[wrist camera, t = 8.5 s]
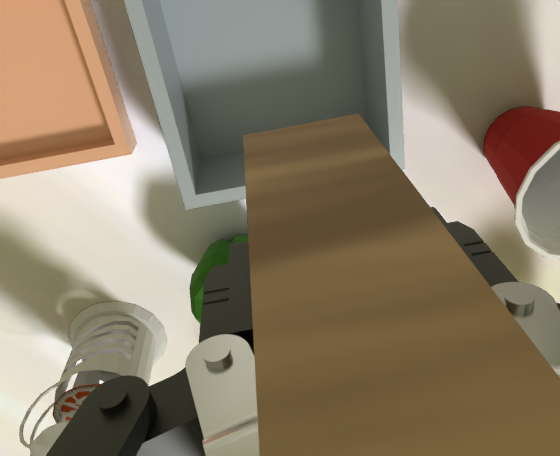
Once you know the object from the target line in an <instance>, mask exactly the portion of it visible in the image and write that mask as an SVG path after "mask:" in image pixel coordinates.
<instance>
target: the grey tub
mask: <svg viewBox="0 0 560 456" xmlns="http://www.w3.org/2000/svg"><path fill="white" fill-rule="evenodd" d="M124 3H125V6H126V10H127V13H128V16H129V20H130V23H131V27H132V30H133V33H134V37H135V40H136V44H137V47H138V50H139V54H140V57H141V61H142V64H143V67H144V71H145V74H146V77H147V81H148V84H149V88H150V91H151V94H152V98H153V101H154V105H155V108H156V111H157V115H158V118H159V122H160V125H161V128H162V132H163V135H164V139H165V142H166V145H167V149H168V152H169V155H170V159H171V162H172V166H173V169H174V172H175V176H176V179H177V183H178V186H179V189H180V193H181V196H182V200H183V203H184V206H185V210H188V209H193V208H199V207H204V206H210V205H215V204H220V203H226V202H231V201H236V200H242V199H246V186H245V167H244V148H243V135H248V134H253V133H259V132H264V131H269V130H275V129H280V128H285V127H291V126H296V125H301V124H307V123H312V122H317V121H323V120H328V119H333V118H339V117H344V116H349V115H355V114H359V115H360V116H361V117H362V119H363V120H364V121H365V122H366V124H367V125H368V126H369V128H370V129H371V130H372V132H373V133H374V134H375V136H376V137H377V138H378V140H379V141H380V142H381V143H382V145H383V146H384V147H385V149H386V150H387V151H388V153H389V154H390V155H391V157H392V158H393V159H394V161H395V162H396V163H397V165H398V166H399V167H400V168H401V170H403V169H405V159H404V135H403V112H402V89H401V65H400V42H399V19H398V0H124Z"/></svg>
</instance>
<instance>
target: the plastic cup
mask: <svg viewBox="0 0 560 456" xmlns="http://www.w3.org/2000/svg"><path fill="white" fill-rule="evenodd" d="M484 152H485V156H486V158H487V160H488V162H489V164H490V166H491V167H492V168H493V170H494V171H495V173H496V175H497V177H498V179H499V181H500V183H501V184H502V186H503V188H504V189H505V191H506V193H507V194H508V196H509V197H510V199H511V201H512V202H513V204H514V206H515V224H516V226H517V228H518V230H519V232H520V234H521V236H522V239H523V241H524V243H525V244H526V245H527V246H529V247H530V248H532V249H533V250H535V251H536V252H538V253H539V254H541V255H542V256H544V257H547V258H554V259H560V112H557V111H552V110H547V109H546V110H543V109H539V108H533V107H528V106H527V107H519V108H515V109H510V110H508V111H507V112H505V113H504V114H502V115H500V116H499V117H498V118H497V119H496V120H495V121H494V122H493V123H492V125H491V126H490V127H489V129H488V131H487V134H486V136H485V139H484Z"/></svg>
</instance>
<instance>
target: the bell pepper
mask: <svg viewBox="0 0 560 456" xmlns="http://www.w3.org/2000/svg"><path fill="white" fill-rule="evenodd" d="M245 241H248V235H236V236H235V237H234V238H233V239H232V240H231V241H226V240H219V241H217V242H216V243H214V244H212V245H210V247H209V248H208V250H207V251H206V253H205V254H204V256H203V258H202V259H201V261H200V262H199V264H198V266H197V267H196V269H195V271H194V273H193V274H192V278H191V284H190V298H191V310H192V313H193V315H194V316H195V318H196V319H197V320H198V321H199V323H200V324H201V313H202V306H203V304H202V301H203V295H204V293H203V289H204V279H205V277H206V276H207V275H208V273H209V272H210V270H211V269H212V267H213V266H217V265H223V264H228V263H229V245H230V244H235V243H240V242H245Z"/></svg>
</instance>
